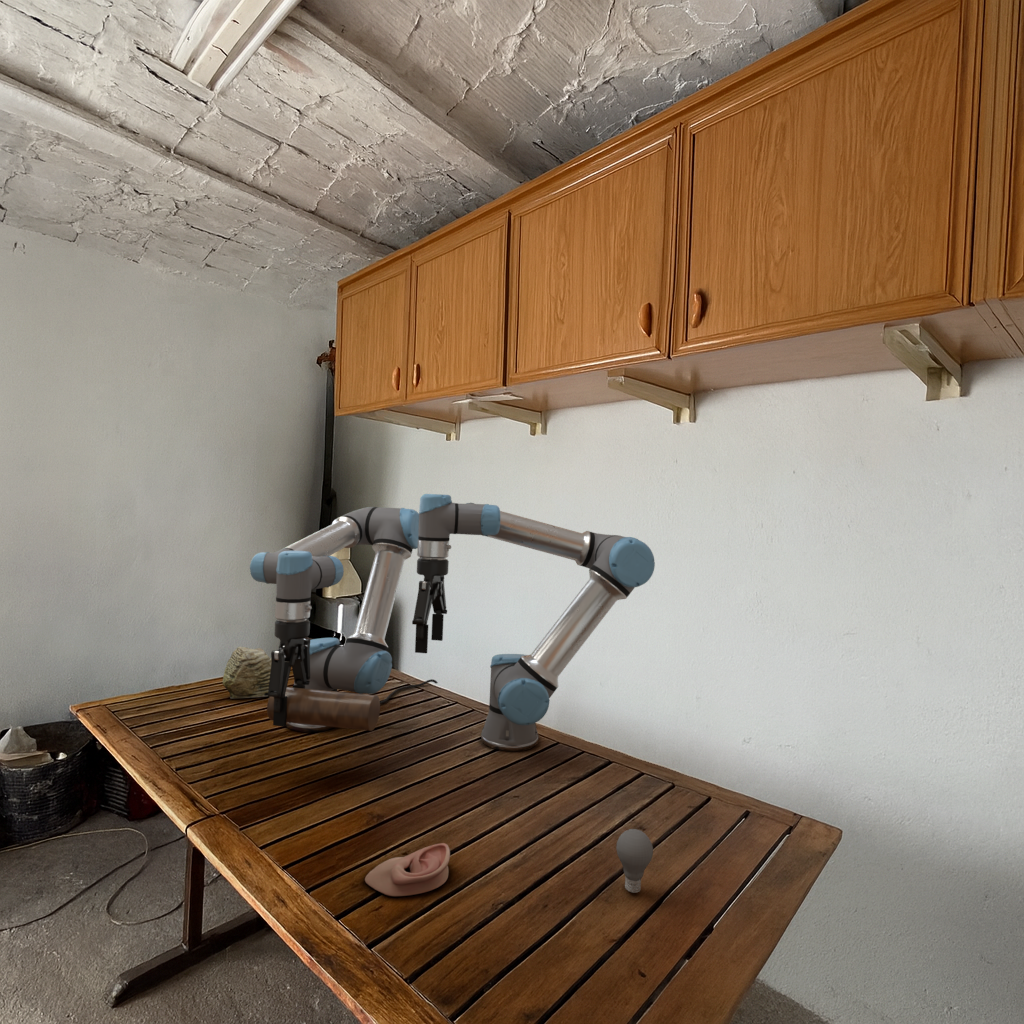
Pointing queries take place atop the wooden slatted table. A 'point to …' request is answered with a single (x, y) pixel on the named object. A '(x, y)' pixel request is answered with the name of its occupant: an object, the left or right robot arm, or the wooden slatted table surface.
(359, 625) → the left robot arm
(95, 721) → the wooden slatted table surface
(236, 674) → the fossil
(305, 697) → the rod
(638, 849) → the light bulb
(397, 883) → the anatomical model
